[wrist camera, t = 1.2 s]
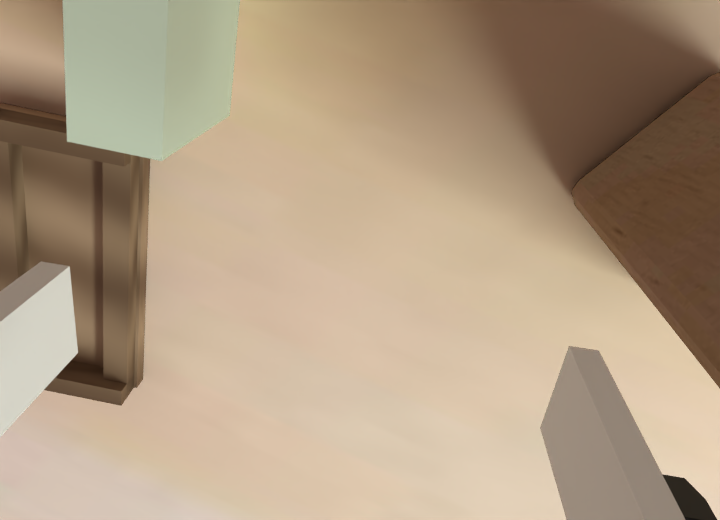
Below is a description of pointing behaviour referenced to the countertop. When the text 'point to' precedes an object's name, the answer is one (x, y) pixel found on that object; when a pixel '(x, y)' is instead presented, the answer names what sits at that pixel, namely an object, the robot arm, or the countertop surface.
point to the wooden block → (668, 216)
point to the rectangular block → (147, 72)
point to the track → (79, 242)
